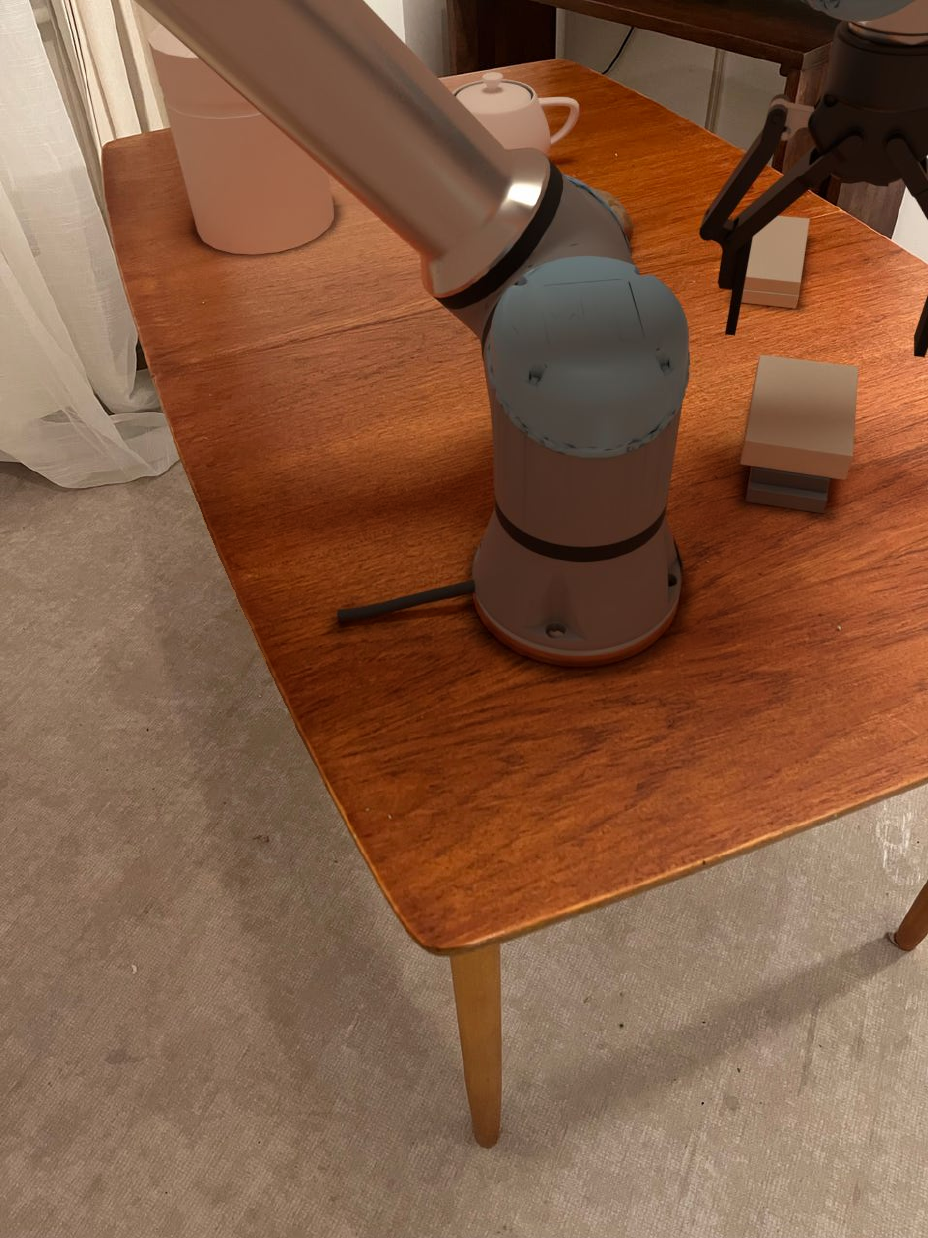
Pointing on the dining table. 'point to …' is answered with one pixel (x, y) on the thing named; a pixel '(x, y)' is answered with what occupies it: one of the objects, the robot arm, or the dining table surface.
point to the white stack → (777, 263)
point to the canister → (237, 161)
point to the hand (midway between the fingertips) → (823, 336)
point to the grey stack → (787, 489)
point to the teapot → (514, 112)
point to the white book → (801, 417)
